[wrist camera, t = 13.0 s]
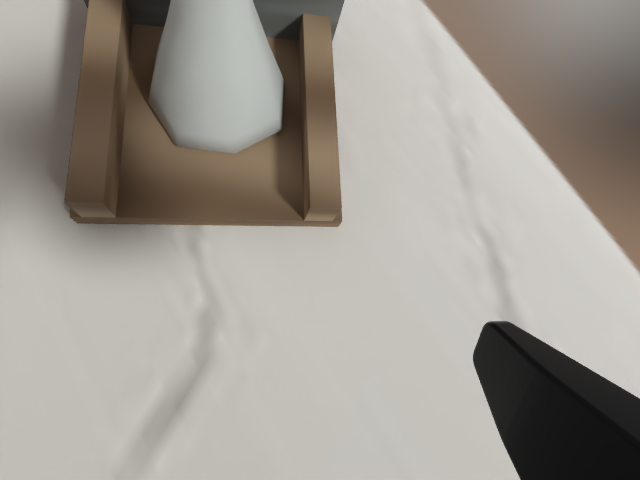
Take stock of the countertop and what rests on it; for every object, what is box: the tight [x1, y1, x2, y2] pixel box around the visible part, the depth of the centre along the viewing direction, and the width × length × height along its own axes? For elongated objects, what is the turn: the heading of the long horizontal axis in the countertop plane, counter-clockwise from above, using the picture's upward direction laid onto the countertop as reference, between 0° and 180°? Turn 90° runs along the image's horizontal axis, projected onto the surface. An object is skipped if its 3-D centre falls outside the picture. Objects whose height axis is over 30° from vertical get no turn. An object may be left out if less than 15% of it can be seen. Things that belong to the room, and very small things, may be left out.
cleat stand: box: [65, 0, 344, 227], centre depth 20 cm, size 13×13×6 cm
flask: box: [148, 0, 285, 154], centre depth 18 cm, size 7×7×10 cm
